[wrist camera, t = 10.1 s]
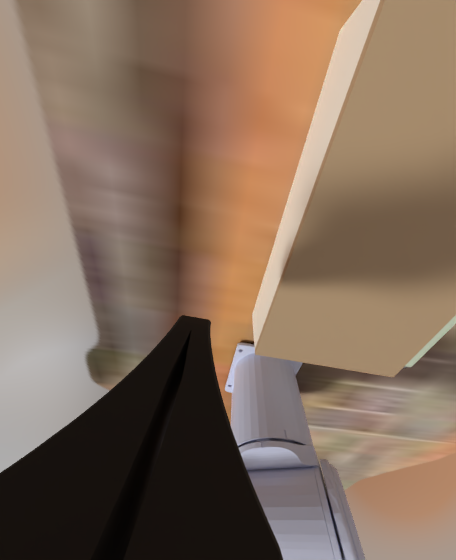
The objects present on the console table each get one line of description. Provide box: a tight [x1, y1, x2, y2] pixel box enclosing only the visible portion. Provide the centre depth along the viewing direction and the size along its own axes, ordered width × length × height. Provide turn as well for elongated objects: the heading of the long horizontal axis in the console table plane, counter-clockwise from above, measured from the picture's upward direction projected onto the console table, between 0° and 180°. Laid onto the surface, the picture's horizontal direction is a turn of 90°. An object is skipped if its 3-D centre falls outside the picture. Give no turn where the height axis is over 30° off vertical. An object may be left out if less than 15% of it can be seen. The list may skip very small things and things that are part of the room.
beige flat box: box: [252, 0, 456, 377], centre depth 14 cm, size 20×12×5 cm, turn 170°
